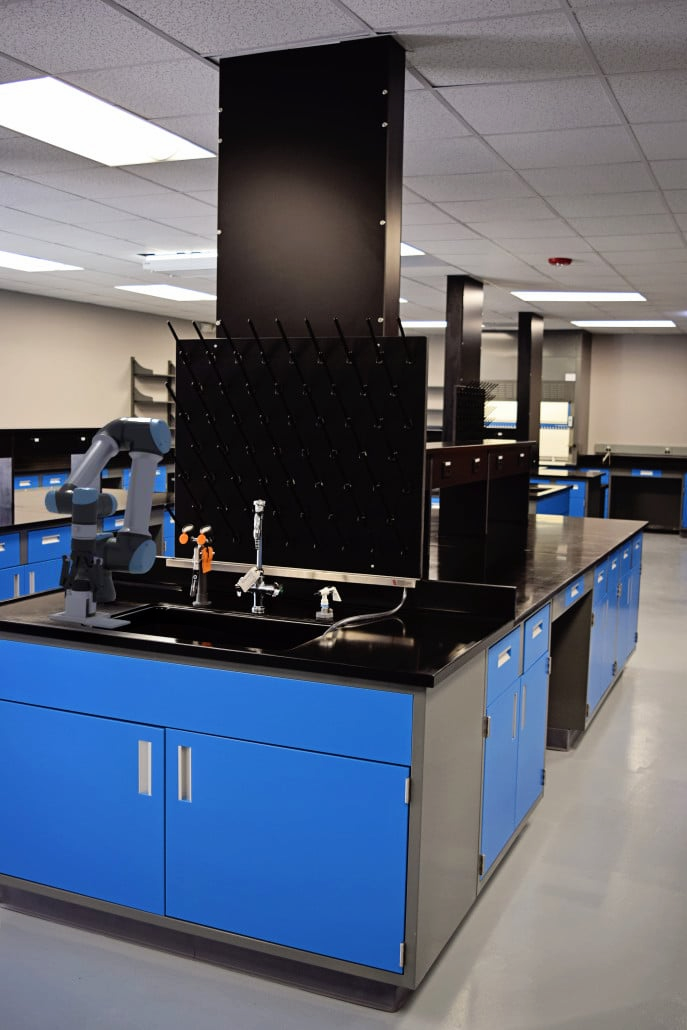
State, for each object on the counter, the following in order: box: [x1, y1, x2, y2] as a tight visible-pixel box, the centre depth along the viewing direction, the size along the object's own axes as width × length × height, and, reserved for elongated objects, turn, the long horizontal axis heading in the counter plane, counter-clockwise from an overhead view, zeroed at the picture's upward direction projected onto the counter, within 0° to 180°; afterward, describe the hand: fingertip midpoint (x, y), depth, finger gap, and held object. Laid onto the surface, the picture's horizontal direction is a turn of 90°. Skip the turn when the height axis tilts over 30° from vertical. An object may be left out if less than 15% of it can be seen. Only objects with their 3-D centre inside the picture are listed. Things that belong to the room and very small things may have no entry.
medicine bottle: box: [64, 578, 98, 618], centre depth 291 cm, size 7×7×12 cm
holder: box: [49, 611, 112, 624], centre depth 292 cm, size 13×13×1 cm
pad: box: [82, 618, 131, 629], centre depth 285 cm, size 10×10×1 cm
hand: (80, 611), depth 292 cm, fingers closed on medicine bottle, 7 cm apart
